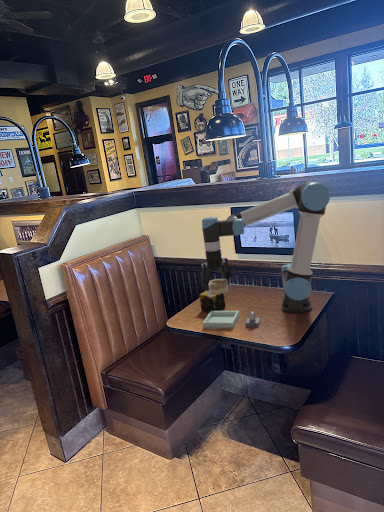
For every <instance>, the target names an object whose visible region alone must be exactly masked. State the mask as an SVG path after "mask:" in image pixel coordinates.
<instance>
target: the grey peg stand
mask: <svg viewBox="0 0 384 512" xmlns="http://www.w3.org/2000/svg"><path fill="white" fill-rule="evenodd" d="M248 316H249V317H247V318H246V320H245V322H244V324H245V328H246V327H247V328H249V327H250V328H259V326H260V323H261V318H260V317H256V312H255V311H248Z"/></svg>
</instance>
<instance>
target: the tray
mask: <svg viewBox="0 0 384 512" xmlns="http://www.w3.org/2000/svg"><path fill="white" fill-rule="evenodd" d="M240 317H241V315H240V310H221V311H210V313H208V314H207V316H206V317H205V318H204V320H203V321H202V328H203V329H215V330H217V329H222V330H223V329H225V330H228V329H229V330H234V329H235V326H236V325H237V322H238V320H239V319H240Z"/></svg>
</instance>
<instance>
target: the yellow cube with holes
mask: <svg viewBox="0 0 384 512" xmlns="http://www.w3.org/2000/svg"><path fill="white" fill-rule="evenodd" d="M198 295H199V299H200V300H199V302H200V310H201V312H204V313H208V314H209V313H210V311H223V310H224V309H225V308H226V307H227V306H226V301H225V300H226V299H225V293H223V294H217V295H212V297H209V296H208V293H207V291H206V290H205V291H204V292H201V293H200V294H198Z"/></svg>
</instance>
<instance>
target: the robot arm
mask: <svg viewBox="0 0 384 512" xmlns="http://www.w3.org/2000/svg"><path fill="white" fill-rule="evenodd" d="M330 199H331V193H330V190H329V188H328V187H327V186H326V185H325V184H324V183H322V182H320V181H315V180H309V181H306V182H304V183H302V184H300V185H299V186H296V187H294V188H292V189H290V190H289V192H288V193H285V194H283V195H281V196H278V197H275V198H272V199H270V200H268V201H265V202H262V203H260V204H258V205H255V206H253V207H250V208H247V209H246V210H243V211H240V212H238V213H236V214H230V215H228V217H227V218H226V219H225V220H218V217H217V216H207V217H205V218H204V217H203V219H202V220H201V227H202V228H201V230H202V235H203V236H202V238H203V243H204V250H205V252H204V253H205V259H206V262H204V263H201V264H200V267H201V273H200V274H201V275H200V284H202V285H204V288H205V291H207V293H208V296H209V297H212V294H211V286H210V284H209V281H210V280H211V278H212V273H213V271H214V270H216V269H218V270H219V272H220V273H221V274H222V276H223V279H224V280H226V281H227V292H226V293H229V285H230V281H229V280H230V279H231V278H232V276H233V275H232V272H231V269H230V265H229V260H228V258H227V257H223V258H222V250H221V239H220V237H231V236H232V237H234V236H241V235H244V233H245V228H246V227H248V226H251V225H253V224H256V223H259V222H261V221H263V220H266V219H268V218H271V217H274V216H277V215H279V214H281V213H284V212H287V211H289V210H291V209H295V208H296V209H297V211H298V214H299V216H300V217H299V221H298V226H297V227H298V228H297V230H296V237H295V244H294V248H293V254H292V259H291V263H287V264H283V265H282V266H281V274H282V276H281V277H282V288H283V289H282V290H283V296H282V299H281V303H280V306H281V307H280V308H281V310H282V311H284V312H285V313H291V314H299V313H305V312H308V311H310V310H311V309H312V308H313V303H312V301H311V298H310V297H309V296H310V294H311V292H312V284H311V283H312V279H313V278H312V277H313V273H314V272H313V271H312V270H311V265H312V260H313V256H314V255H313V254H314V250H315V245H316V240H317V234H318V232H319V225H320V221H321V218H322V217H323V216H325V214H326V213H325V212H326V207H327V206H328V204H329V203H330ZM222 264H223V265H222ZM223 266H224V267H223Z"/></svg>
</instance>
